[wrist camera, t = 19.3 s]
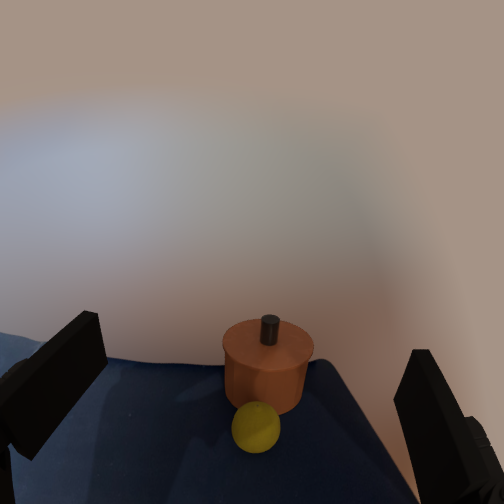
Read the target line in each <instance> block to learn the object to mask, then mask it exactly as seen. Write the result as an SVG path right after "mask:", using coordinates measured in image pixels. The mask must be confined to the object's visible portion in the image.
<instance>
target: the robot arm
mask: <svg viewBox="0 0 504 504" xmlns="http://www.w3.org/2000/svg"><path fill="white" fill-rule="evenodd" d="M107 364H108V361H107V357H106V353H105V348H104V343H103V338H102V333H101V328H100V323H99V317H98V313H94V312H89V311H83V312H82V313H81V314H79V315H78V316H77V317H76V318H75V319H73V320H72V321H71V322H70V323H69V324H68V325H66V326H65V327H64V328H63V329H62V330H61V331H59V332H58V333H57V334H56V335H55V336H54V337H53V338H51V339H50V340H49V341H48V342H47V343H46V344H44V345H43V346H42V347H41V348H40V349H39V350H38V351H37V352H35V353H34V354H33V355H32V356H31V357H30V358H29V359H27V358H26V359H24V360H22V361H20V362H18V363H16V364H15V365H14V366H12V367H11V368H10V369H9V370H8V372H6V373H5V374H4V375H3V376H2V378H0V504H15V498H14V490H13V482H12V471H11V458H10V451H9V448H8V447H7V446H8V445H9V444H10V443H12V445H13V446H14V448H15V449H16V451H17V452H18V453H19V454H21V455H23V456H24V457H26V458H27V459H29V460H31V461H32V460H33V458H34V457H35V456H36V454H37V453H38V452H39V450H40V449H41V448H42V446H43V445H44V444H45V442H46V441H47V440H48V438H49V437H50V436H51V434H52V433H53V432H54V431H55V429H56V428H57V427H58V425H59V424H60V423H61V422H62V420H63V419H64V418H65V416H66V415H67V414H68V413H69V411H70V410H71V409H72V408H73V406H74V405H75V404H76V403H77V401H78V400H79V399H80V398H81V396H82V395H83V394H84V393H85V391H86V390H87V389H88V388H89V386H90V385H91V384H92V383H93V381H94V380H95V379H96V378H97V376H98V375H99V374H100V373H101V372H102V370H103V369H104V368H105V367H106V365H107ZM393 400H394V403H395V406H396V410H397V413H398V416H399V419H400V423H401V426H402V430H403V433H404V437H405V441H406V444H407V448H408V452H409V455H410V460H411V463H412V467H413V471H414V476H415V479H416V484H417V488H418V493H419V497H420V502H421V504H504V472H503V470H502V468H501V465H500V463H499V461H498V459H497V456H496V454H495V452H494V450H493V448H492V446H490V444H491V443H490V441H489V439H488V438H487V437H486V436H487V435H486V433H485V431H484V429H483V427H482V425H481V424H480V423H479V422H478V421H477V420H476V419H475V418H474V417H473V416H470V417H464V415H463V413H462V411H461V409H460V407H459V405H458V403H457V401H456V399H455V397H454V395H453V393H452V391H451V389H450V387H449V385H448V384H447V382H446V380H445V378H444V376H443V374H442V372H441V370H440V369H439V367H438V365H437V363H436V362H435V360H434V358H433V356H432V354H431V353H430V351H429V350H428V349H427V350H426V349H413V350H412V353H411V356H410V359H409V361H408V364H407V367H406V369H405V372H404V375H403V377H402V380H401V382H400V385H399V387H398V389H397V392H396V394H395V397H394V399H393Z"/></svg>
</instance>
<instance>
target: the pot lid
mask: <svg viewBox="0 0 504 504" xmlns="http://www.w3.org/2000/svg"><path fill="white" fill-rule="evenodd" d="M223 349H224V351H225V353H226V354H227V356H228V357H229V358H230V359H231V360H233V361H234V362H235V363H237V364H239V365H241V366H243V367H245V368H248V369H251V370H255V371H260V372H284V371H289V370H292V369H295V368H298V367H300V366H302V365H303V364H305V363H306V362H307V361H308V360H309V359H310V357H311V356H312V354H313V349H314V344H313V341H312V339H311V337H310V336H309V335H308V333H307V332H305V331H304V330H303V329H301V328H300V327H298V326H296V325H293V324H291V323H288V322H284V321H280V319H279V318H278V317H277V316H275V315H264V316H263V317H262V318H261V319H253V320H247V321H243V322H241V323H238V324H236V325H234V326H232V327H231V328H229V329H228V330H227V331H226V333H225V334H224V337H223Z"/></svg>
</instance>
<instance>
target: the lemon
mask: <svg viewBox="0 0 504 504" xmlns="http://www.w3.org/2000/svg"><path fill="white" fill-rule="evenodd" d="M279 434H280V420H279V416H278V414H277V412H276V411H275V409H274V408H273V407H272V406H270V405H269V404H267V403H264V402H260V401H253V402H249V403H246V404H244V405H243V406H242V407H240V408H239V409H238V411H237V412H236V414H235V416H234V418H233V422H232V436H233V438H234V441H235V443H236V444H237V445H238V446H239V447H240V448H241V449H243V450H244V451H247V452H250V453H261V452H264V451H266V450H268V449H270V448H271V447H272V446H273V445H274V444H275V443H276V441H277V439H278V437H279Z"/></svg>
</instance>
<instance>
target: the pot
mask: <svg viewBox="0 0 504 504" xmlns="http://www.w3.org/2000/svg"><path fill="white" fill-rule="evenodd" d="M307 366H308V361H307V362H306V363H305V364H303V365H302V366H300V367H298V368H295V369H292V370H289V371H284V372H260V371H255V370H251V369H248V368H245V367H243V366H241V365H239V364H237V363H235V362H234V361H233V360H231V359H230V358H229V357H228V356H227V354H226V353H225V393H226V396H227V398H228V400H229V401H230V402H231V404H232V405H234V406H235V407H236V408H238V409H239V408H240V407H242V406H243V405H244V404H246V403H249V402H253V401H260V402H264V403H267V404H269V405H270V406H272V407H273V408H274V409H275V411H276V412H277V414H278V415H280V414H283V413H286V412H288V411H290V410H291V409H293V408H294V407H295V406H296V405H297V404H298V402H299V401H300V399H301V395H302V391H303V386H304V381H305V376H306V371H307Z"/></svg>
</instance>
